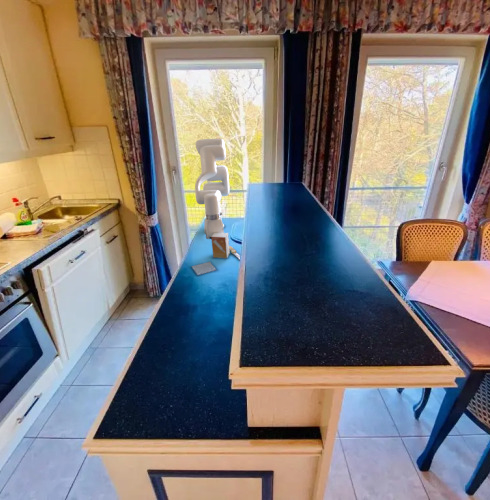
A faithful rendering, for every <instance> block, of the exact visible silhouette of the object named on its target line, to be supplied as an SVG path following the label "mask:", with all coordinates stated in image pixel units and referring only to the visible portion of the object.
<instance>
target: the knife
mask: <svg viewBox="0 0 490 500" xmlns="http://www.w3.org/2000/svg"><path fill="white" fill-rule="evenodd" d="M229 252H230V253H231V254H232V255H233V256H234V257H236V258H237V259H238V260H239V261H241V260H240V256H241V255H240V254H239V253H238V252H237V250H236V249H235V248H234V247H233V246H231V245H229Z"/></svg>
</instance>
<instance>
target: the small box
mask: <svg viewBox="0 0 490 500" xmlns="http://www.w3.org/2000/svg"><path fill="white" fill-rule="evenodd" d="M211 239H212V240H211ZM211 239H210V240H211V248H212V258H213V259H215V258H216V259H228V258H229V256H230V253H231V252H230V251H229V246H230V241H229V240H230V239H229V232H224V233H214V234H213V235H212V237H211Z"/></svg>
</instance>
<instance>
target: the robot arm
mask: <svg viewBox="0 0 490 500" xmlns="http://www.w3.org/2000/svg"><path fill="white" fill-rule="evenodd" d="M195 148H196V149H195V150H196V151H197V153H198V154H199V156H200V167H201V168H200V169H201V173H200V174H199V176H198V177H197V178H196V181H195V184H194V193H195V194H194V195H195V201H196V203H197V204H199V205H204V211H205V219H204V222H203V223H204V226H203V227H204V235H205V239H206V240H211V241H212V239H211V237H212V235H213V234H214V233H225V231H224V228H225V224H224V223H223V220H222V215H223V212H222V209H221V201H222V199H223V197H228V196H229V195H230V178H229V177H230V176H229V170H228V167H227V166H226V165H217V161H225V160H226V157H227V151H226V144H225V140H224V139H223V138H204V139H203V138H202V139H198V140H196V141H195ZM205 181H207V182H206V183H204V182H205ZM203 183H204V185H203V186H202V184H203ZM201 186H202V190H201Z"/></svg>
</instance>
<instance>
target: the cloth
mask: <svg viewBox="0 0 490 500" xmlns="http://www.w3.org/2000/svg"><path fill="white" fill-rule="evenodd" d="M191 268H192V269H193V271H194V272H195V274H196V275H197V276H200V275H204V274H208V273H211V272H215V271H217V269H216V267H215V266H214V265H213V264H212V262H211V261H207V262H203V263H199V264H196V265H192V266H191Z"/></svg>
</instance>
